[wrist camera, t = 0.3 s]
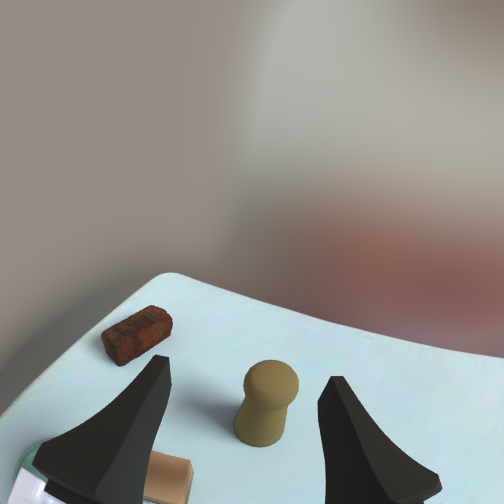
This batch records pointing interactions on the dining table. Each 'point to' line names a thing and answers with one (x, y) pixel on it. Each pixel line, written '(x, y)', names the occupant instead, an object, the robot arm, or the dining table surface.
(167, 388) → the robot arm
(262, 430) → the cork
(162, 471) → the walnut block
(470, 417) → the dining table surface
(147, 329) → the brick
